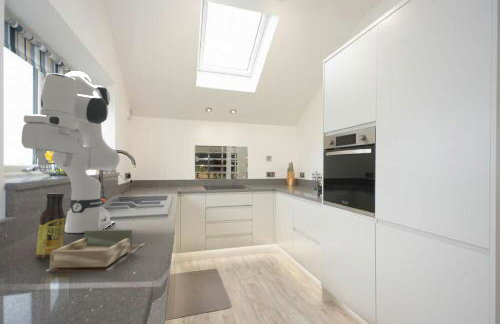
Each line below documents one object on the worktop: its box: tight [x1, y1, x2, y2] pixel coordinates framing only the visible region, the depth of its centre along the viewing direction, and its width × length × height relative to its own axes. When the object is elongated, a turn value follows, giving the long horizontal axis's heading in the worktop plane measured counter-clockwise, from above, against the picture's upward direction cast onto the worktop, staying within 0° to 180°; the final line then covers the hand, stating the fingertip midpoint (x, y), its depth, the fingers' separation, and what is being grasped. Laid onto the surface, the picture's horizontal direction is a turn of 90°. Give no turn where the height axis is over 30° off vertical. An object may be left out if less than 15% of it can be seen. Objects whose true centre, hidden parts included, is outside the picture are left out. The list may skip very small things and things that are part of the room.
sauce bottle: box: [35, 192, 67, 259], centre depth 70 cm, size 7×6×20 cm
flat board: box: [44, 242, 146, 273], centre depth 69 cm, size 23×16×1 cm
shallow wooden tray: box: [48, 229, 133, 269], centre depth 65 cm, size 14×14×7 cm
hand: (55, 166), depth 71 cm, fingers open, 8 cm apart
